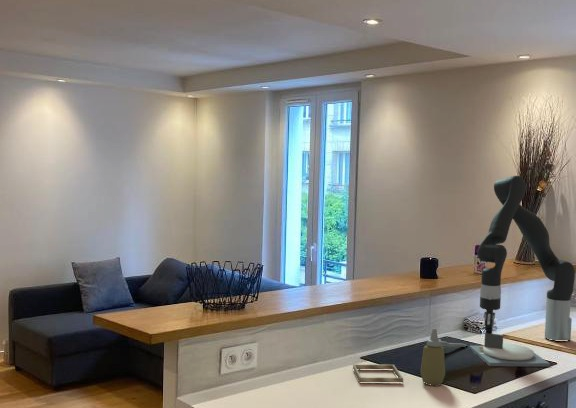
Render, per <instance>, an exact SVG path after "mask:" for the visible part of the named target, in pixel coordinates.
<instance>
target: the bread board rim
mask: <svg viewBox="0 0 576 408" xmlns="http://www.w3.org/2000/svg"><path fill="white" fill-rule="evenodd" d="M353 369H354V371H355V373H354V375H355V374H356V376H357V378H358V380H359V382H403V383H404V377H403V375H402V374H401V373H400V371H399V370H398V369H397V367H396V366H395V364H368V363H367V364H365V363H364V364H362V363H361V364H359V363H358V364H355V363H354V364H352V370H353ZM357 369H393V371H394V372H395V374H396V375H397V376H398V378H397V377H385V376H383V377H382V376H381V377H380V376H379V377H378V376H376V377H375V376H373V377H372V376H371V377H368V376H363V377H362V375H361V374H360V372H359V371H358V370H357ZM354 371H353V372H354ZM393 371H392V372H393ZM395 374H394V375H395ZM356 376H355V377H356ZM357 378H356V379H357ZM358 380H357V381H358ZM359 382H358V383H359Z"/></svg>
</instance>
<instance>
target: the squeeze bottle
mask: <svg viewBox="0 0 576 408" xmlns="http://www.w3.org/2000/svg"><path fill="white" fill-rule="evenodd" d="M439 339H440V338H439V337H438V332H437V328H432V331H431V334H430V337H429V338H427V339H426V345H424V346H423V350H422V356H421V366H420V371H419V372H420V376H421V379H422V383H423V382H425V383H427V384H431V385H438V386H440V385H439V384H441V383H442V384H443V381H444V379H445V376H446V364H445V349H444V348H443V347H442V346H441V341H442V339H441V340H439ZM427 384H426V385H427ZM442 384H441V385H442ZM431 385H430V386H431Z"/></svg>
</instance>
